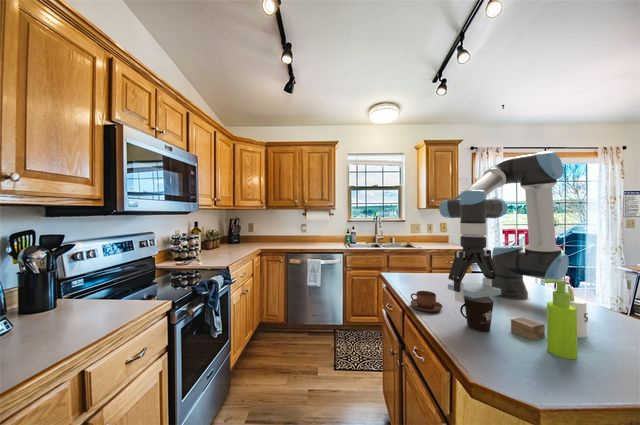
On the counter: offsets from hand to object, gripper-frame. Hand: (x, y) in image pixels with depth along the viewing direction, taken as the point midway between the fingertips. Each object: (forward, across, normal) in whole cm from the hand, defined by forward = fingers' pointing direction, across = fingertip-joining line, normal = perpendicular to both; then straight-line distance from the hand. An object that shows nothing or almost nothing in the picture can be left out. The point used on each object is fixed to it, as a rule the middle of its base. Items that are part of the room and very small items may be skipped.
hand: (473, 299), depth 83 cm
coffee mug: (+10, 0, 0) cm, 10 cm away
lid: (-3, 0, 0) cm, 3 cm away
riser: (+10, -12, +9) cm, 18 cm away
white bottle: (+10, -27, +13) cm, 32 cm away
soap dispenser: (+10, -8, +19) cm, 23 cm away
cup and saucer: (+10, +3, -19) cm, 22 cm away
